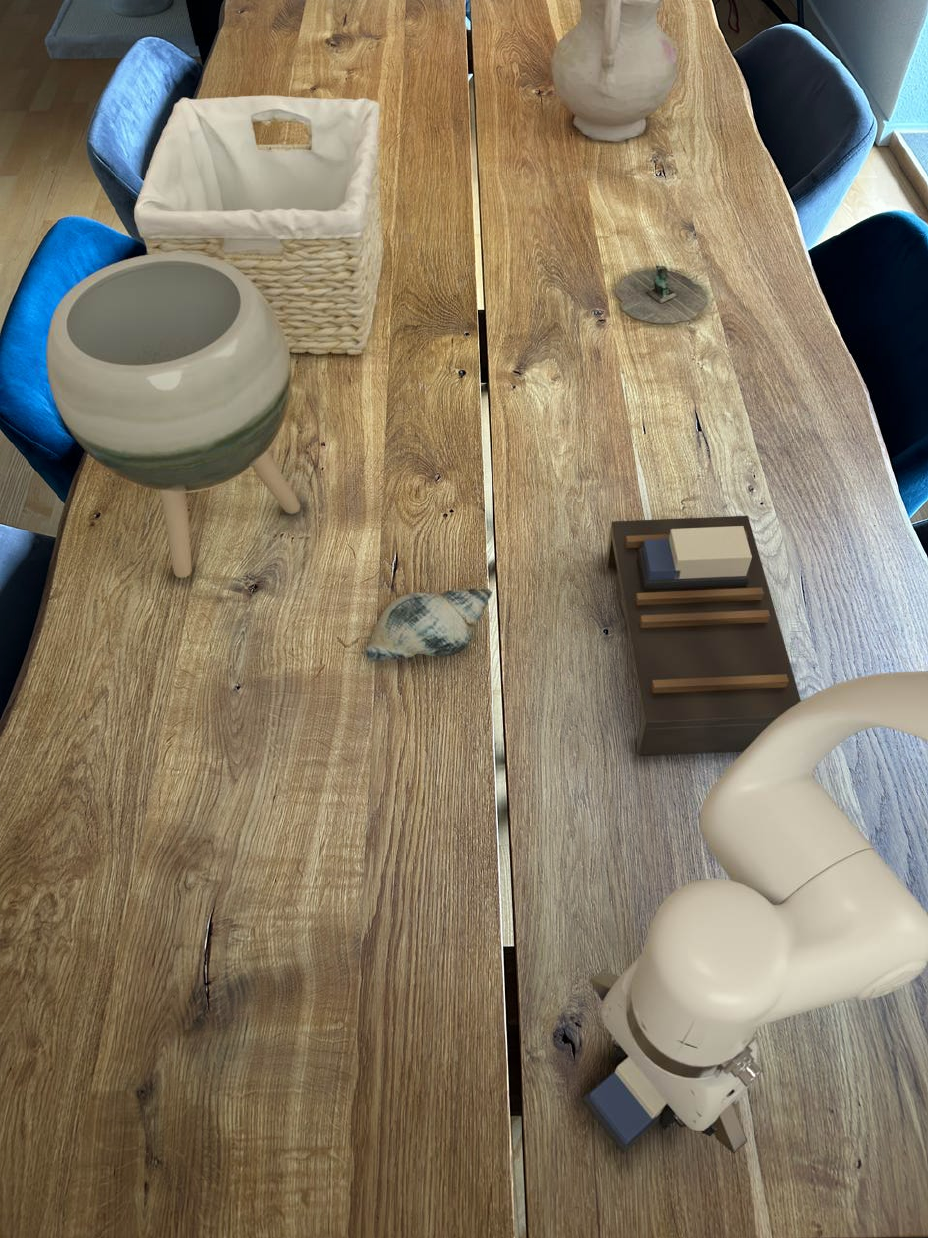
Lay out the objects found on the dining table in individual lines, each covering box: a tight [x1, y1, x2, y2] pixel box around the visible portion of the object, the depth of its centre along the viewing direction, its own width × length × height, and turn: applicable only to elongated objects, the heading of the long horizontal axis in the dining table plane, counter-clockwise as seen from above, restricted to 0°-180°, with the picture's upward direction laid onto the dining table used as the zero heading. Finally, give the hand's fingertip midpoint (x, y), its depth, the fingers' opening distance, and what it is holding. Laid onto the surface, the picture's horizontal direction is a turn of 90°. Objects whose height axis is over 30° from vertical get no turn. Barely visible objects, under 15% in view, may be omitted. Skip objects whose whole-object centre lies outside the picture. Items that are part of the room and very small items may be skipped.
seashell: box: [364, 588, 493, 663], centre depth 100 cm, size 6×8×12 cm
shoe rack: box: [605, 515, 802, 757], centre depth 98 cm, size 14×24×7 cm, turn 2°
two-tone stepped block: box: [638, 526, 752, 590], centre depth 97 cm, size 10×4×4 cm, turn 92°
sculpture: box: [615, 265, 707, 325], centre depth 136 cm, size 12×9×8 cm
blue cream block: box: [582, 1056, 669, 1155], centre depth 75 cm, size 10×4×4 cm, turn 127°
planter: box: [45, 253, 301, 579], centre depth 102 cm, size 22×22×28 cm
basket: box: [133, 94, 385, 356], centre depth 128 cm, size 27×27×22 cm
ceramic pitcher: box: [551, 0, 679, 143], centre depth 155 cm, size 22×20×25 cm
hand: (652, 1082), depth 76 cm, fingers closed on blue cream block, 4 cm apart
